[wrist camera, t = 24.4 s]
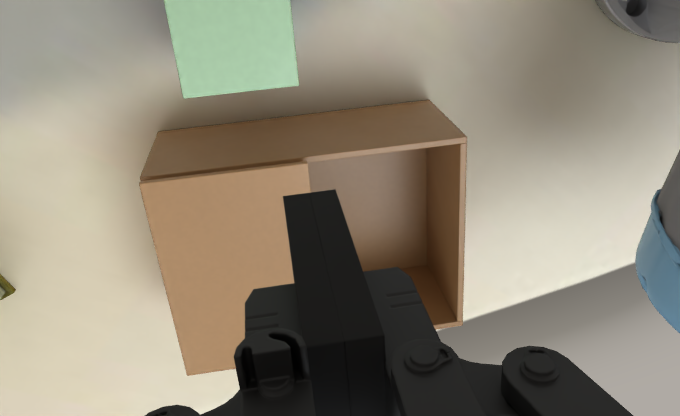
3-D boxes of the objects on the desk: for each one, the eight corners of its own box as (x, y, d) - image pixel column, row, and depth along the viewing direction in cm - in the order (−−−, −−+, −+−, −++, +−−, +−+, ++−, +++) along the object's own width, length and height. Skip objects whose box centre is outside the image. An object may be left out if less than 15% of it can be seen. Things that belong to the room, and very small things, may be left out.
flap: (187, 371, 39) (187, 376, 38) (140, 181, 32) (138, 183, 32) (327, 350, 39) (328, 354, 39) (307, 160, 33) (307, 163, 33)
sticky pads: (275, -59, 36) (284, -52, 28) (288, 51, 39) (299, 86, 31) (175, -50, 35) (155, -40, 27) (195, 61, 38) (183, 99, 30)
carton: (195, 299, 46) (187, 368, 39) (157, 131, 40) (139, 177, 33) (430, 265, 48) (462, 325, 41) (429, 99, 42) (467, 136, 35)
